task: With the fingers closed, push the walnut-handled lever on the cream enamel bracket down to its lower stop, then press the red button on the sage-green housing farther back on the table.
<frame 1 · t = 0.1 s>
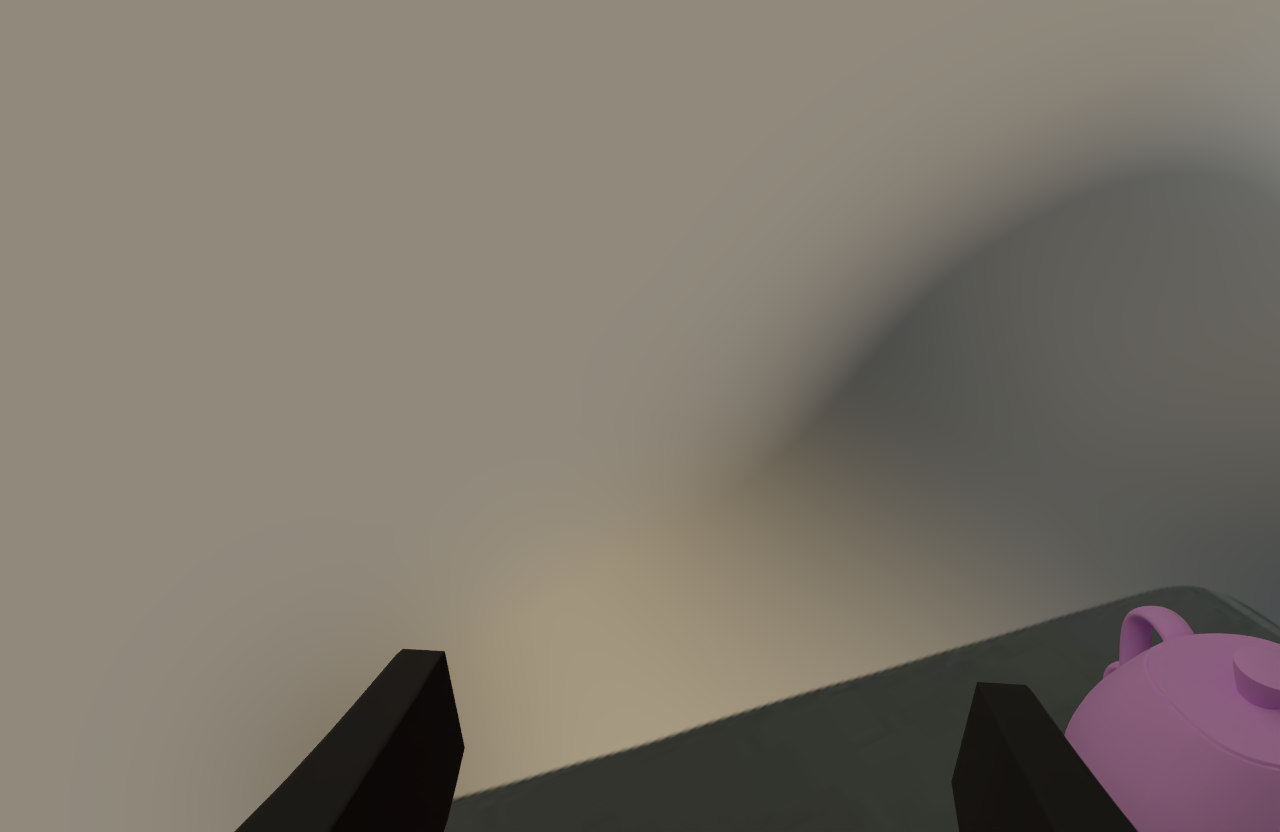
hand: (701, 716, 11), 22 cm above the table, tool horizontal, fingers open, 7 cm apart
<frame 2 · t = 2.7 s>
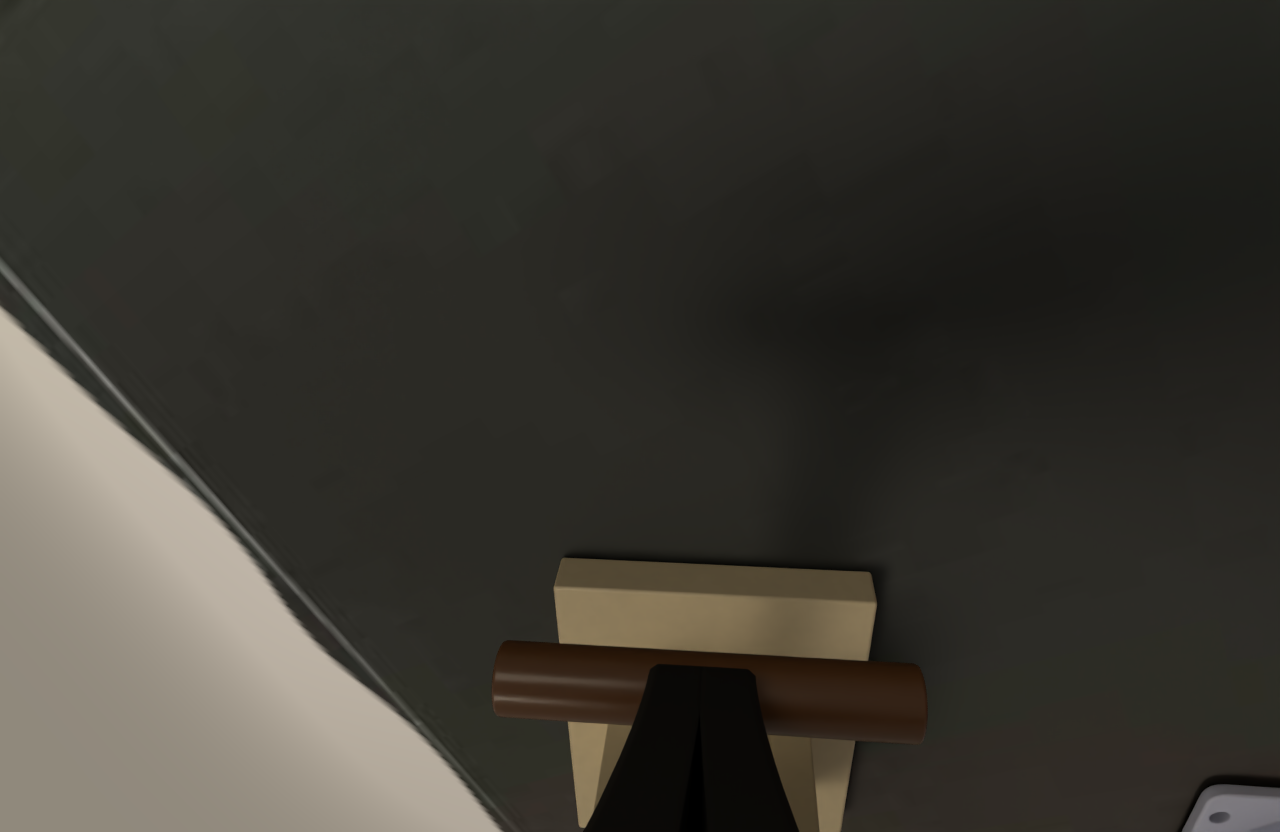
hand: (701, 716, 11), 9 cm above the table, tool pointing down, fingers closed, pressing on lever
bracket: (710, 696, 24), on the table
lever: (703, 831, 16), point 7 cm above the table, hinge at 13.2°, touching gripper
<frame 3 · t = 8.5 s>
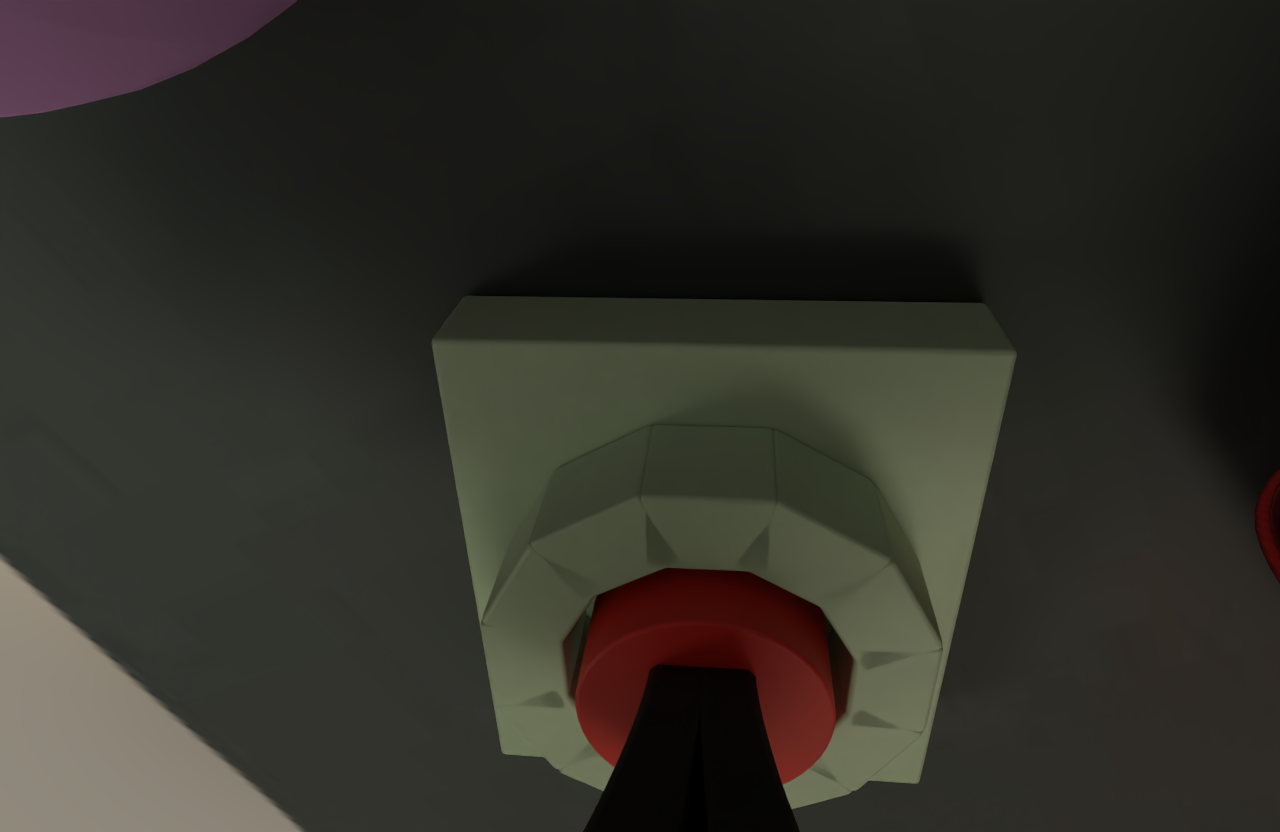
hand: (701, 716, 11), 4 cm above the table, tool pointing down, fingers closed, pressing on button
button box: (711, 528, 15), on the table
button: (705, 669, 12), point 3 cm above the table, slide at -0.6 cm, touching gripper
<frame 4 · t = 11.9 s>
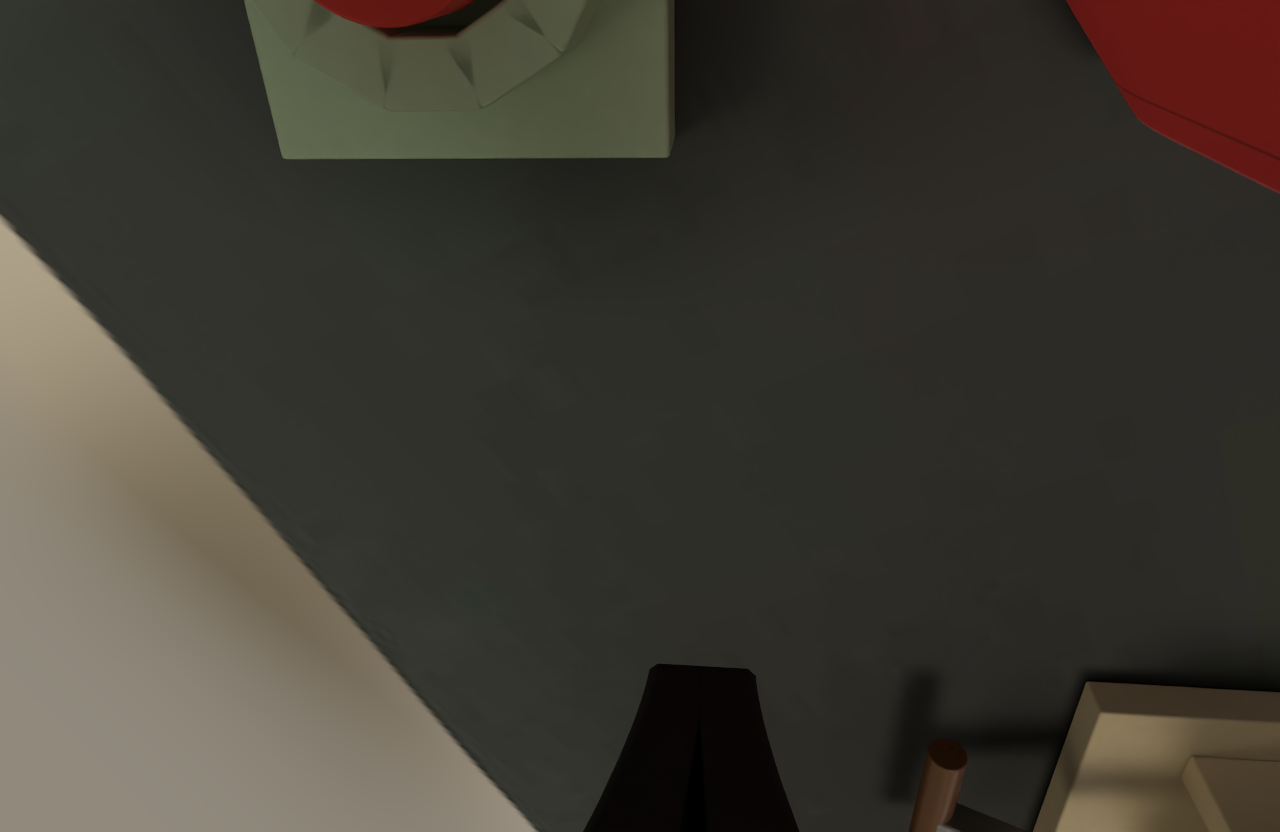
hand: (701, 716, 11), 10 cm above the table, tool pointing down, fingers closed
bracket: (1221, 778, 26), on the table
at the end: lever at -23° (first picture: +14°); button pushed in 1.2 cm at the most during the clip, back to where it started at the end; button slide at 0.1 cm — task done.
